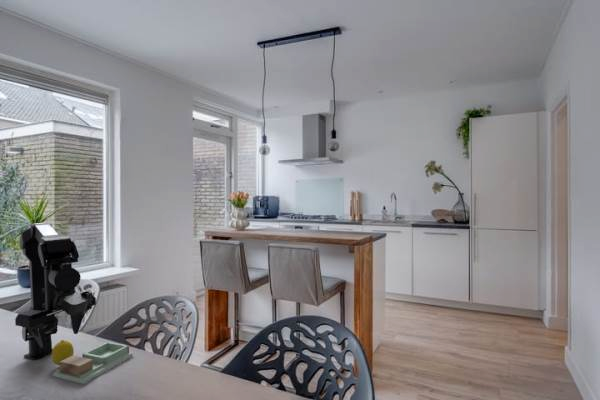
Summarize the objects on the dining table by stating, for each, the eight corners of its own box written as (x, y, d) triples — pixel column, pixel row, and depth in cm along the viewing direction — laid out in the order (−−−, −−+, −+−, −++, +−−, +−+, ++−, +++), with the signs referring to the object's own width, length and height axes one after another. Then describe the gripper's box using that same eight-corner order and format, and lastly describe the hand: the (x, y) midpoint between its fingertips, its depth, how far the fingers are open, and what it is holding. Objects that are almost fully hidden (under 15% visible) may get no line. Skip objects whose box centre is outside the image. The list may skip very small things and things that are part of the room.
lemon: (63, 371, 104) (62, 344, 104) (47, 370, 105) (46, 343, 105) (78, 362, 109) (77, 337, 109) (63, 361, 110) (62, 335, 110)
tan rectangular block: (60, 371, 101) (59, 361, 101) (73, 365, 105) (73, 355, 105) (79, 376, 98) (79, 366, 98) (92, 369, 102) (92, 359, 102)
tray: (53, 376, 101) (52, 365, 101) (105, 350, 117) (104, 341, 117) (83, 383, 97) (82, 372, 97) (132, 356, 113) (132, 346, 113)
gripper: (44, 296, 84) (46, 360, 85) (109, 277, 102) (111, 330, 103) (12, 292, 88) (15, 354, 89) (80, 274, 106) (82, 326, 106)
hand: (60, 340), depth 96 cm, fingers open, 9 cm apart
